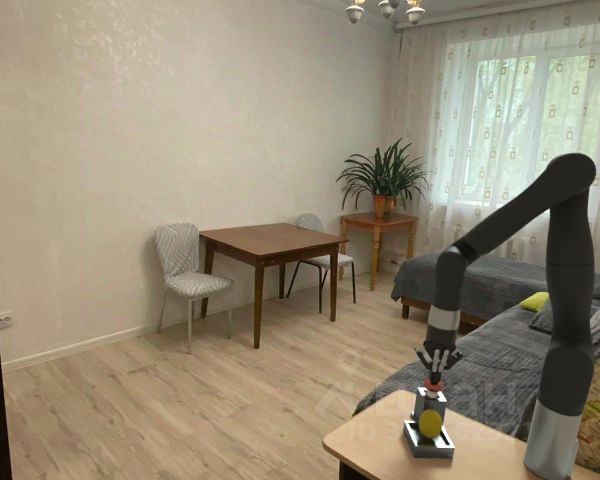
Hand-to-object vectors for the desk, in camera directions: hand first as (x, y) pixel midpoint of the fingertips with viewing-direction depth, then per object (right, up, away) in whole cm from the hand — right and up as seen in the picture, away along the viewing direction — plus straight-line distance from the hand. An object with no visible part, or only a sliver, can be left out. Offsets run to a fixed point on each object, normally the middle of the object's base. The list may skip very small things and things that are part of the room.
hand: (433, 382), depth 113 cm
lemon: (-3, -12, -6) cm, 14 cm away
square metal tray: (-3, -14, -6) cm, 15 cm away
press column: (-1, -12, +3) cm, 12 cm away
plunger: (-1, -10, +2) cm, 10 cm away
